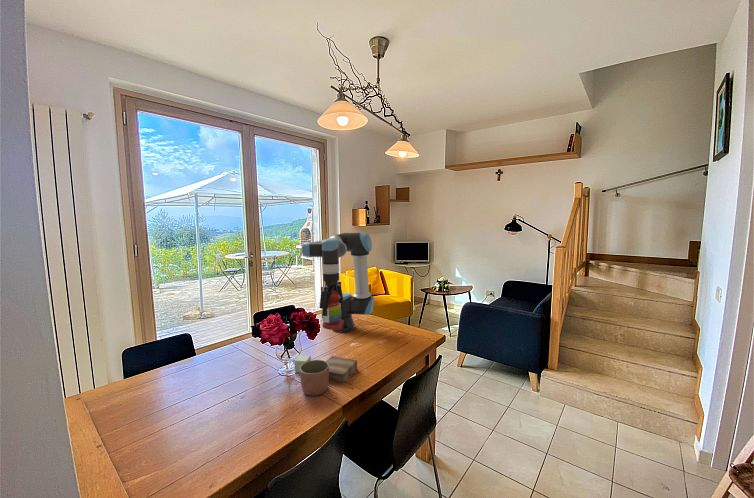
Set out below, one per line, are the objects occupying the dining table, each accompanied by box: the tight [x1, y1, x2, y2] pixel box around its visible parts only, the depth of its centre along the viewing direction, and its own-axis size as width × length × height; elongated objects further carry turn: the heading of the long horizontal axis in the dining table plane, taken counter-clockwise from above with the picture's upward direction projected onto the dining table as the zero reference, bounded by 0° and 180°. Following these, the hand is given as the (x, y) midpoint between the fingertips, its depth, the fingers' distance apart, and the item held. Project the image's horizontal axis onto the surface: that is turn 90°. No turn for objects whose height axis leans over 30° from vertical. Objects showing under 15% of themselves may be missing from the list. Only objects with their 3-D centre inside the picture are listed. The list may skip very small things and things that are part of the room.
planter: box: [299, 359, 330, 397], centre depth 132 cm, size 12×12×11 cm
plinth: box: [325, 355, 358, 385], centre depth 146 cm, size 14×14×5 cm
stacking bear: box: [321, 290, 344, 331], centre depth 145 cm, size 11×10×18 cm
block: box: [293, 354, 312, 374], centre depth 150 cm, size 6×6×6 cm
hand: (332, 318), depth 145 cm, fingers closed on stacking bear, 9 cm apart
